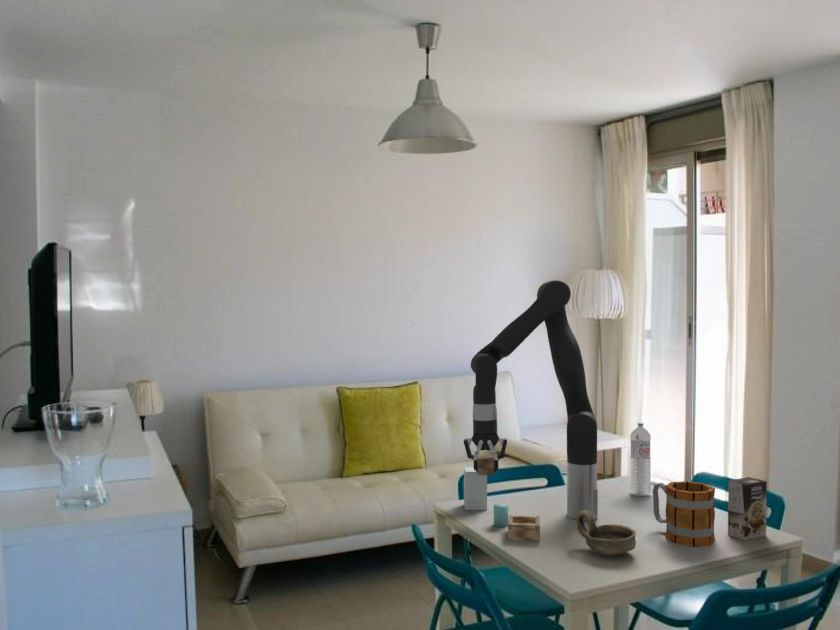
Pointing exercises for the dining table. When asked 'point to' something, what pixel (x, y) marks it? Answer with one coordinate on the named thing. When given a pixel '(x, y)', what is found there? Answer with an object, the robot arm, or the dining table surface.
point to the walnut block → (485, 465)
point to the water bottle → (640, 462)
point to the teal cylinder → (500, 515)
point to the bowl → (606, 536)
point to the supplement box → (474, 490)
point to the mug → (687, 512)
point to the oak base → (524, 528)
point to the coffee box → (747, 508)
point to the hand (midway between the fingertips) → (486, 471)
